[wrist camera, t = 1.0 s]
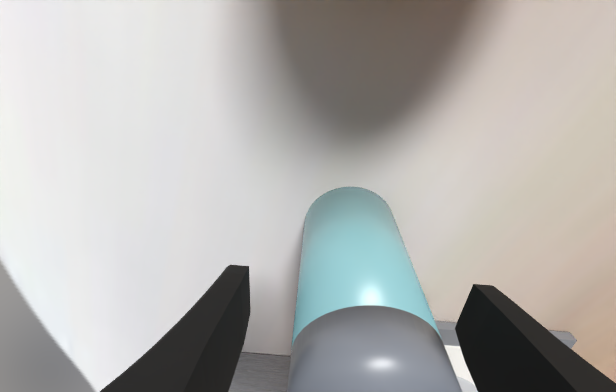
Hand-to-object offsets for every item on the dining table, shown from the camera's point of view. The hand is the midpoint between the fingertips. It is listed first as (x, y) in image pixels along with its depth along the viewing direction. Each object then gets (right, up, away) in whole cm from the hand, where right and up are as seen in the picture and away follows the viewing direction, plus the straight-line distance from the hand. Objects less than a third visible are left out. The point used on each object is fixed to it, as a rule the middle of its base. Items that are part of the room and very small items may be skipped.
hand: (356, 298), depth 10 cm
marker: (0, +2, +4) cm, 4 cm away
